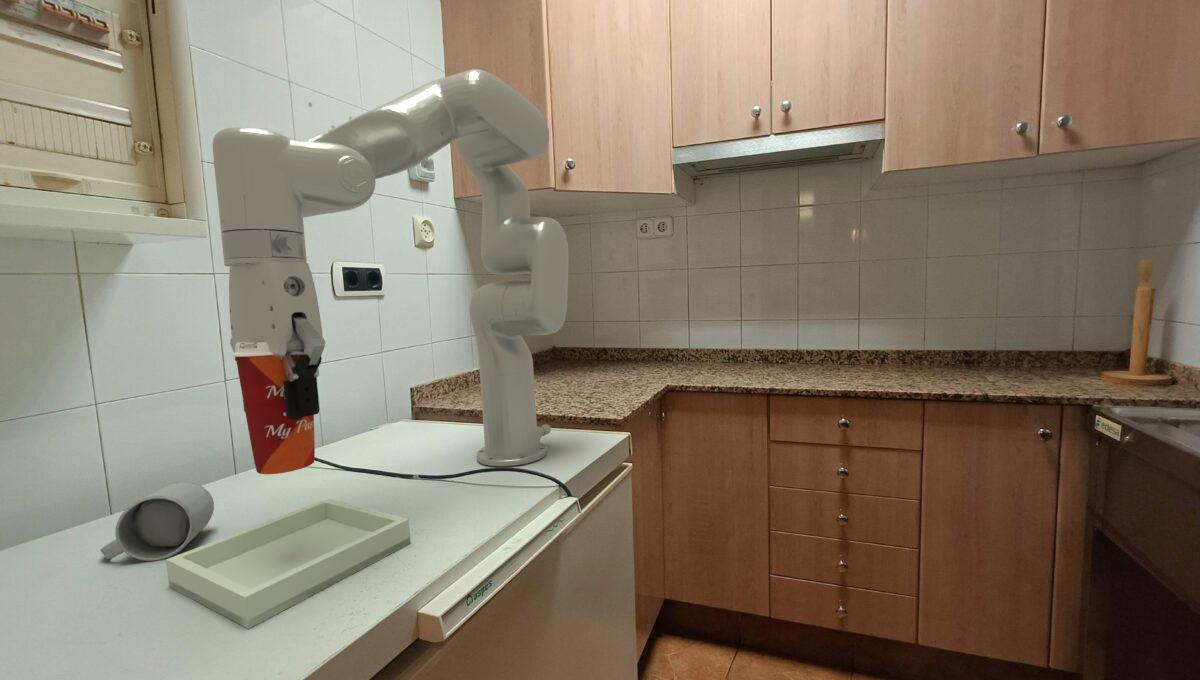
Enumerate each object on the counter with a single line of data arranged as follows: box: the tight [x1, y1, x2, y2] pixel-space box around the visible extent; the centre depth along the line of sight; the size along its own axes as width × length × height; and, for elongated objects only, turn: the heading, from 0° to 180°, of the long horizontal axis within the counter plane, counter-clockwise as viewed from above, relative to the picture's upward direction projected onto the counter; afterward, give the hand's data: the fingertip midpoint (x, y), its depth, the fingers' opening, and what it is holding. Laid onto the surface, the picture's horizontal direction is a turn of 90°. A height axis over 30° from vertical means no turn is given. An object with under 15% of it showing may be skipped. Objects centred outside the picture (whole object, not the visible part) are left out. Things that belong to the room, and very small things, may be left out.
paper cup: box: [231, 340, 316, 475], centre depth 58 cm, size 8×8×14 cm
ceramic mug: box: [100, 482, 215, 562], centre depth 65 cm, size 11×8×8 cm
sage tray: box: [165, 498, 412, 630], centre depth 59 cm, size 18×16×3 cm
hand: (281, 412), depth 58 cm, fingers closed on paper cup, 7 cm apart
